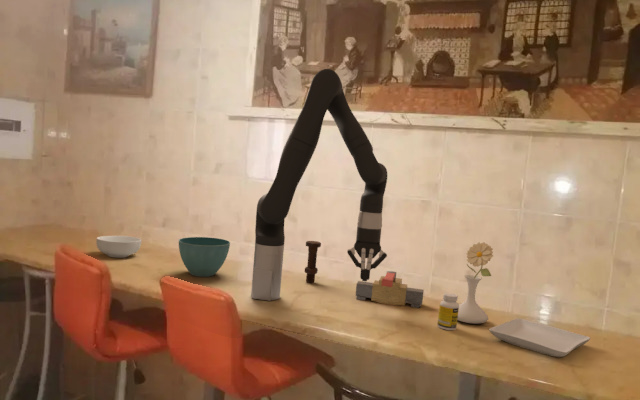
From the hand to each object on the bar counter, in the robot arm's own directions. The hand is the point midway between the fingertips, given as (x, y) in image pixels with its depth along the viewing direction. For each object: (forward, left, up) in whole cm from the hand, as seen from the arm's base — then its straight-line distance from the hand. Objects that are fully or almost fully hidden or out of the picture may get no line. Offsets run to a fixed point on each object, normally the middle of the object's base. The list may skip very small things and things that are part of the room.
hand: (364, 280), depth 177 cm
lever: (+6, -7, -1) cm, 9 cm away
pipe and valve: (+12, -7, -8) cm, 16 cm away
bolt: (+24, +23, -9) cm, 34 cm away
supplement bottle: (-9, -26, -9) cm, 29 cm away
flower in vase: (+1, -33, -9) cm, 34 cm away
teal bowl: (+14, +61, -9) cm, 63 cm away
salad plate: (-11, -51, -9) cm, 53 cm away
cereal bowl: (+25, +102, -9) cm, 105 cm away
